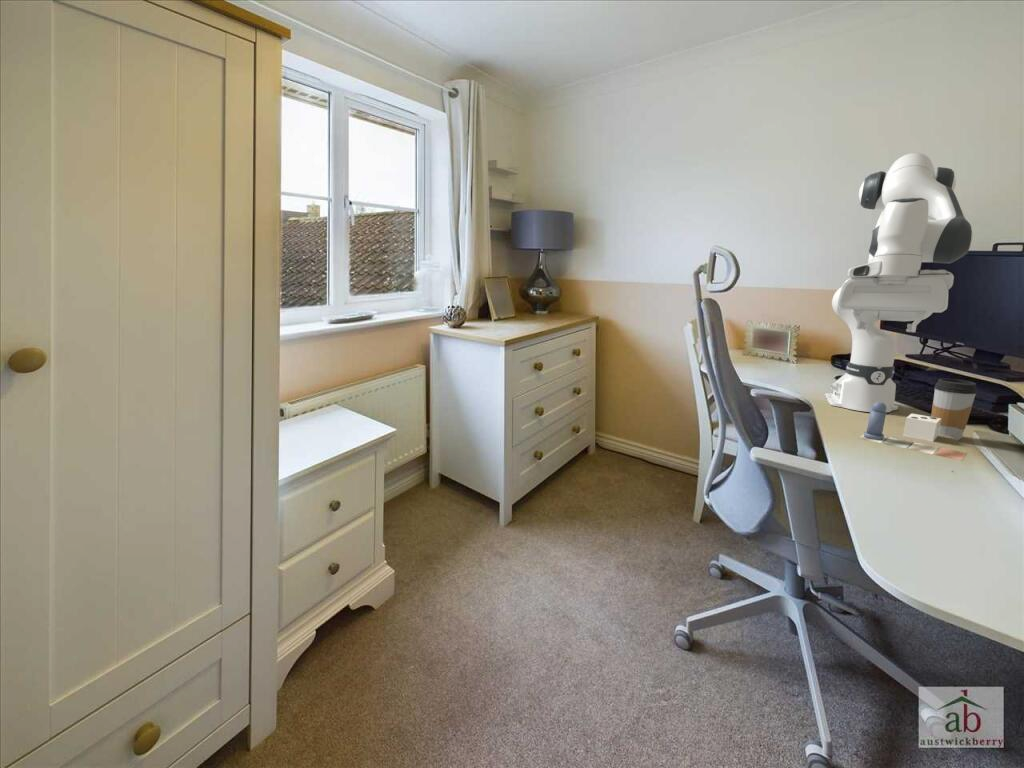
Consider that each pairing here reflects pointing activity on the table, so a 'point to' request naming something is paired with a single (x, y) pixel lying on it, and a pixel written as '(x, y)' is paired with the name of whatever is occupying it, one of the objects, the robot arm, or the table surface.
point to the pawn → (876, 421)
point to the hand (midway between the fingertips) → (885, 330)
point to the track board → (920, 447)
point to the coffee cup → (953, 405)
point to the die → (922, 427)
